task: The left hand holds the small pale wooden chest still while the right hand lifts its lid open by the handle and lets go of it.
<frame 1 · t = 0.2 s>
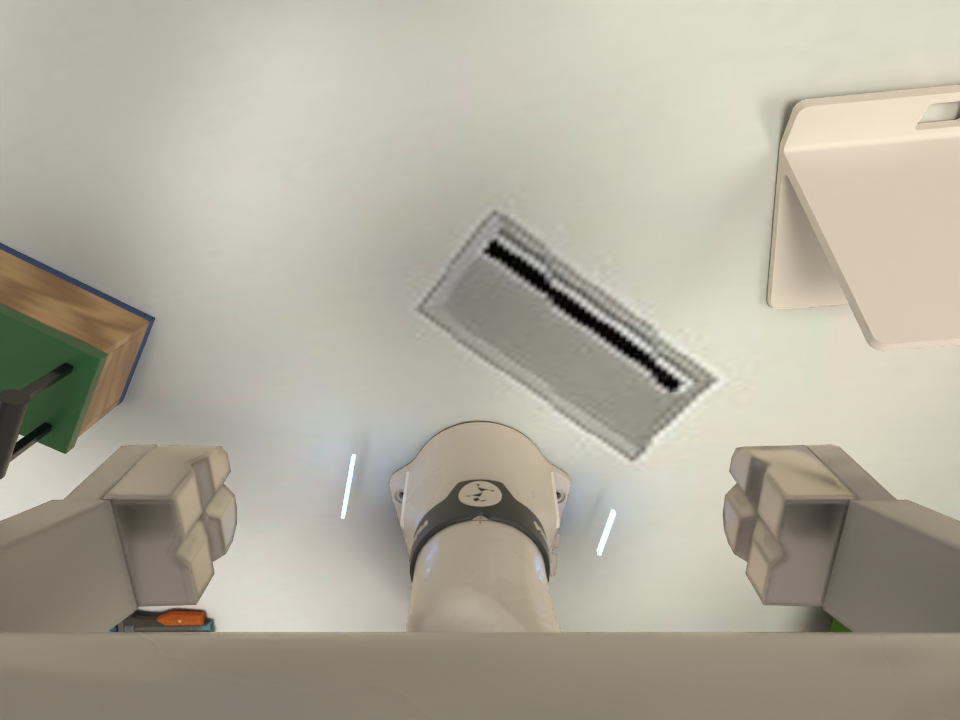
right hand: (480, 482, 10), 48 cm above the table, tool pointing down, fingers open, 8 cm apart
chest: (51, 319, 59), on the table
tablet stand: (916, 197, 55), on the table
toy gun: (129, 601, 72), on the table
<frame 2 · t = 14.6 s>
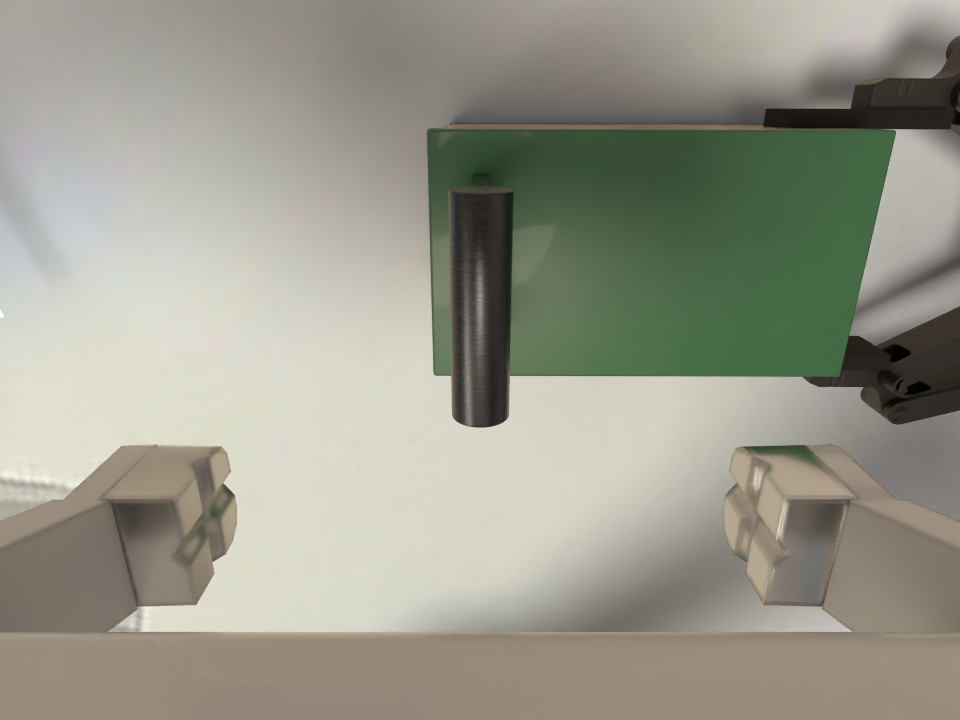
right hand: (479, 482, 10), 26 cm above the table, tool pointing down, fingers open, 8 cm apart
left hand: (757, 243, 29), fingers closed on chest, 10 cm apart
chest: (607, 221, 34), on the table, touching left hand
lid: (669, 281, 22), point 13 cm above the table, hinge at 0.0°
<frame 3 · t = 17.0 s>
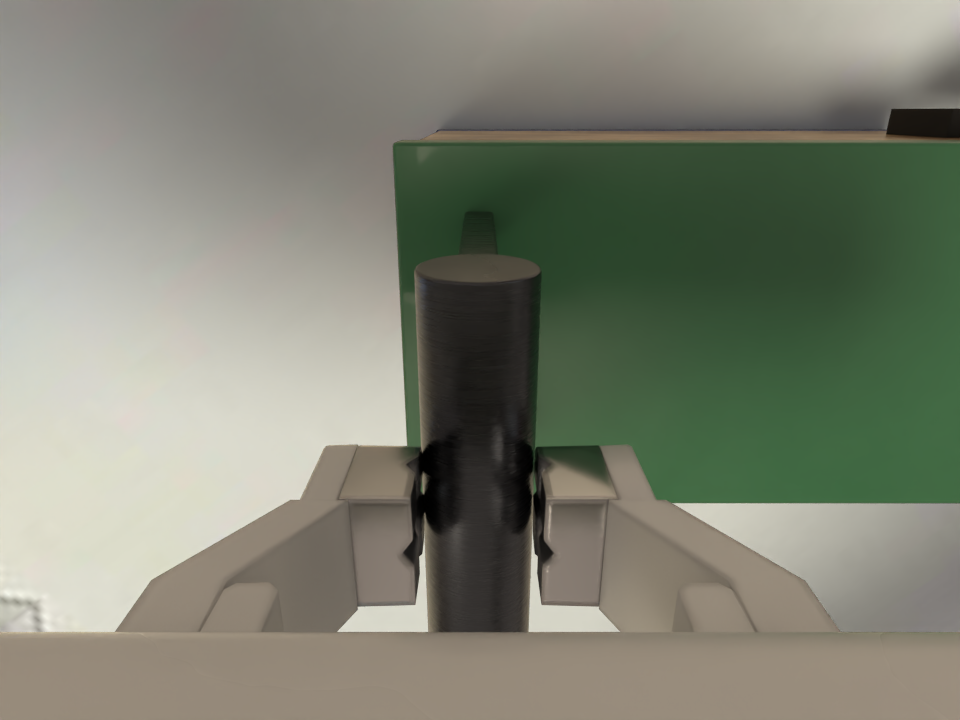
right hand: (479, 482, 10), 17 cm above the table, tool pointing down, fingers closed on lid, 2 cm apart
chest: (648, 259, 26), on the table, touching left hand
lid: (787, 392, 14), point 13 cm above the table, hinge at 0.1°, touching right hand
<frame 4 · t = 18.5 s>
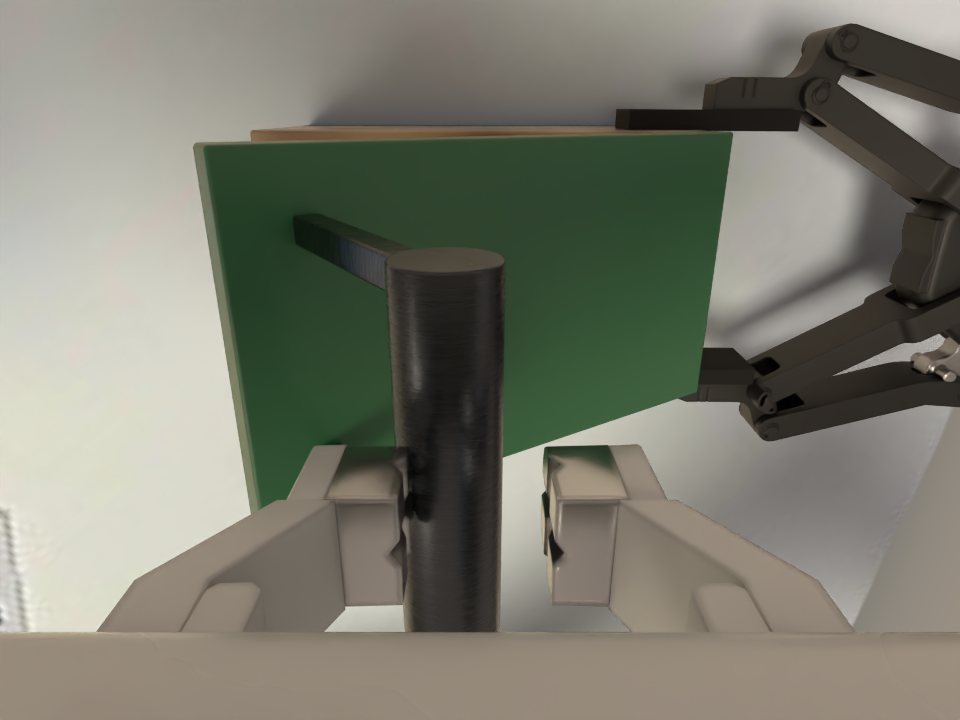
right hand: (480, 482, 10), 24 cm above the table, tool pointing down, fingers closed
left hand: (611, 251, 27), fingers closed on chest, 10 cm apart
chest: (480, 227, 33), on the table, touching left hand
lid: (599, 336, 17), point 17 cm above the table, hinge at 33.1°, touching right hand
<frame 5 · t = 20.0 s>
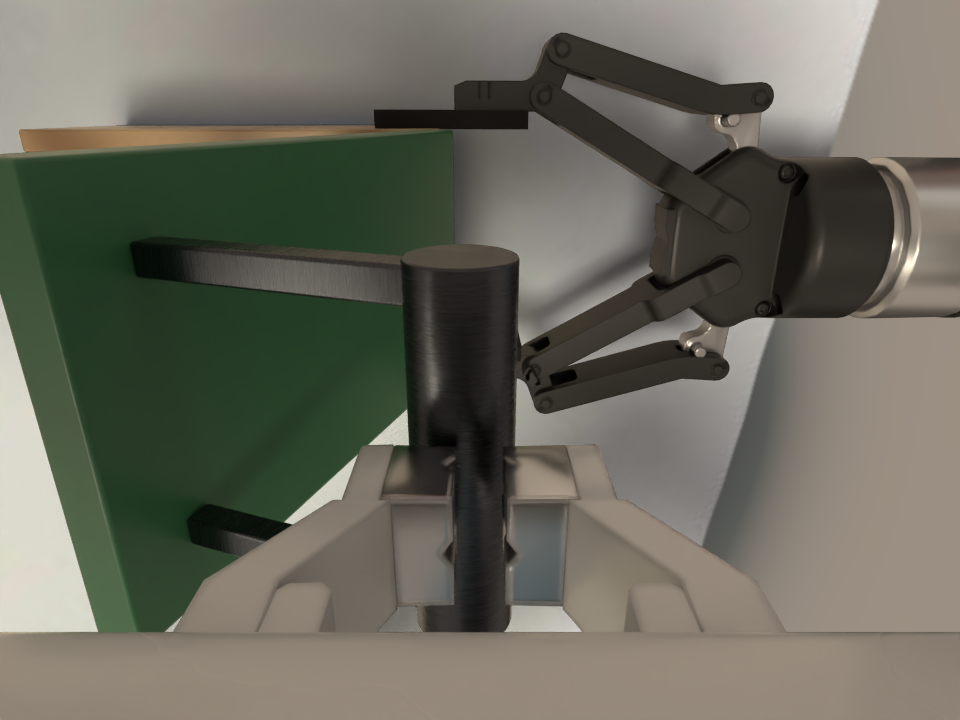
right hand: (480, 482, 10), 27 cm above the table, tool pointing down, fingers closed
left hand: (384, 239, 30), fingers closed on chest, 10 cm apart
chest: (296, 219, 35), on the table, touching left hand
lid: (438, 323, 18), point 19 cm above the table, hinge at 68.5°, touching right hand
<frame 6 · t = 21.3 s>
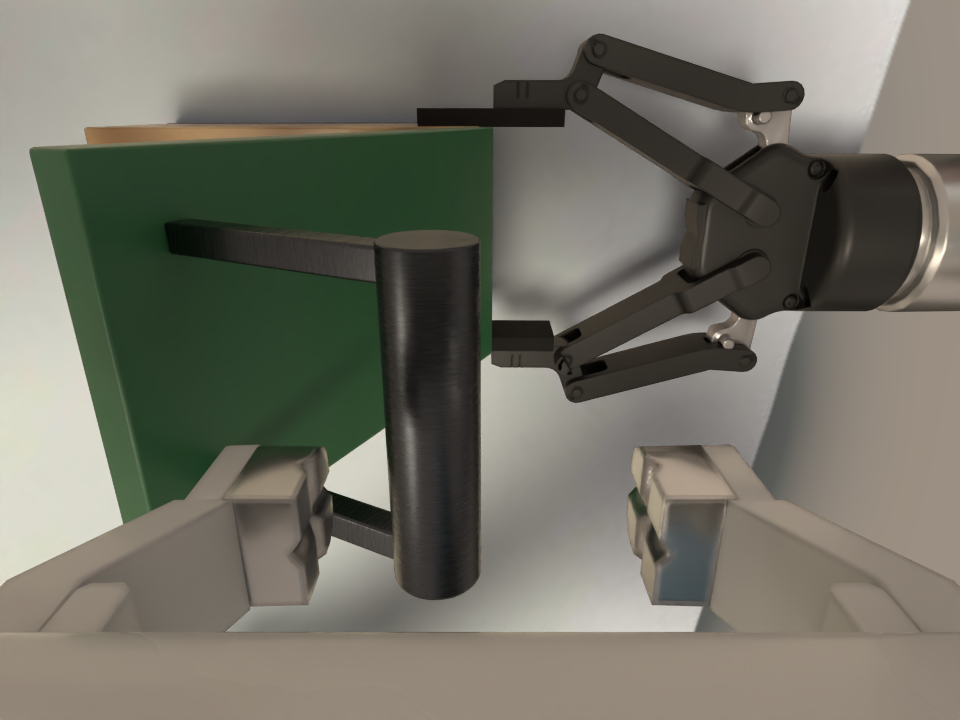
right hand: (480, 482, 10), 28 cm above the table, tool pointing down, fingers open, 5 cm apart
left hand: (423, 233, 31), fingers closed on chest, 10 cm apart
chest: (335, 214, 37), on the table, touching left hand
lid: (453, 308, 19), point 19 cm above the table, hinge at 62.4°
when the left hand's fingers open (6 cm above the table, at t = 24.4 s): chest stays where it is, on the table.
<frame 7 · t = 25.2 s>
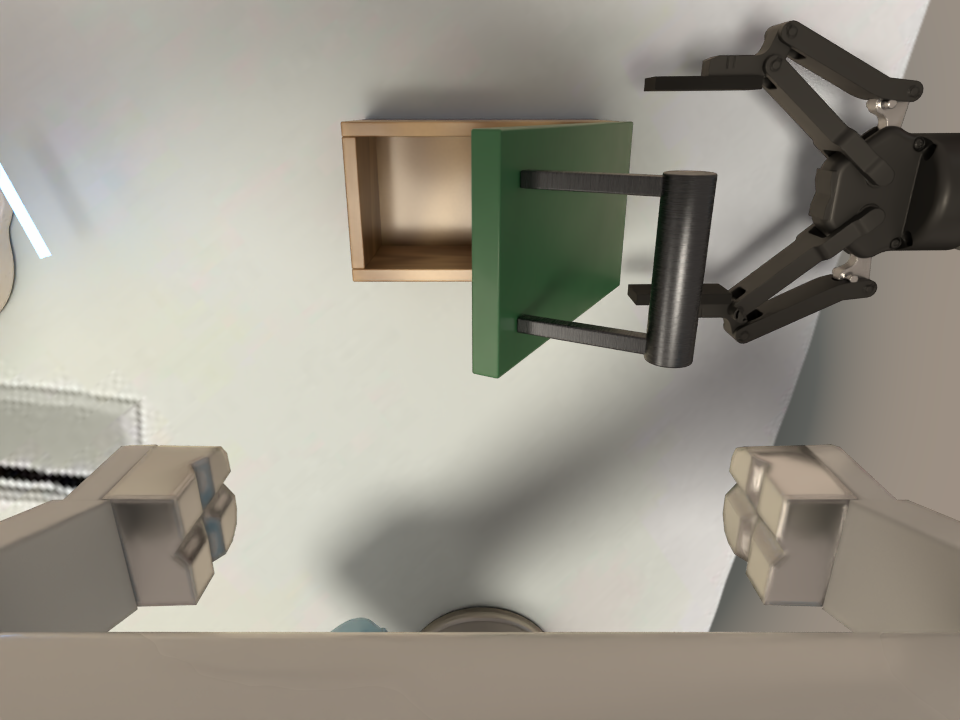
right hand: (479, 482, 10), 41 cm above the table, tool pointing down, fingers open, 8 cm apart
left hand: (639, 195, 42), fingers open, 13 cm apart
chest: (480, 189, 48), on the table
lid: (636, 234, 30), point 19 cm above the table, hinge at 61.5°
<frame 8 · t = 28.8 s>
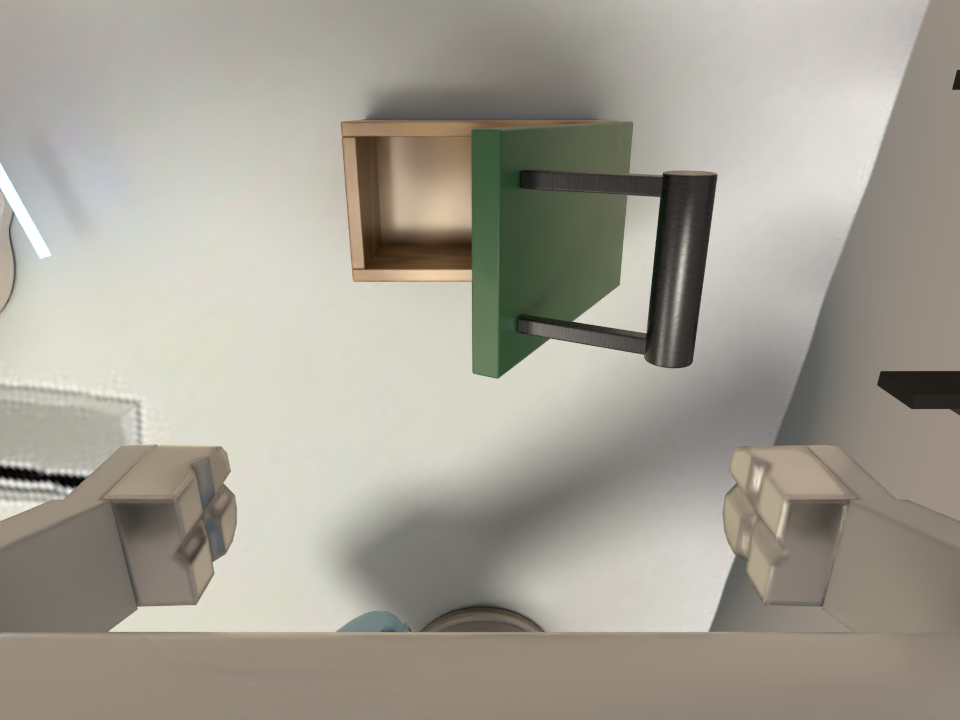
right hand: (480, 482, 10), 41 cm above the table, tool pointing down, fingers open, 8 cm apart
chest: (480, 189, 48), on the table
lid: (636, 234, 30), point 19 cm above the table, hinge at 61.5°
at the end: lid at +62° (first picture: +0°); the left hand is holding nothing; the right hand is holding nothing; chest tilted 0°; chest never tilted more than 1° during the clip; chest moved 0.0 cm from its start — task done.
